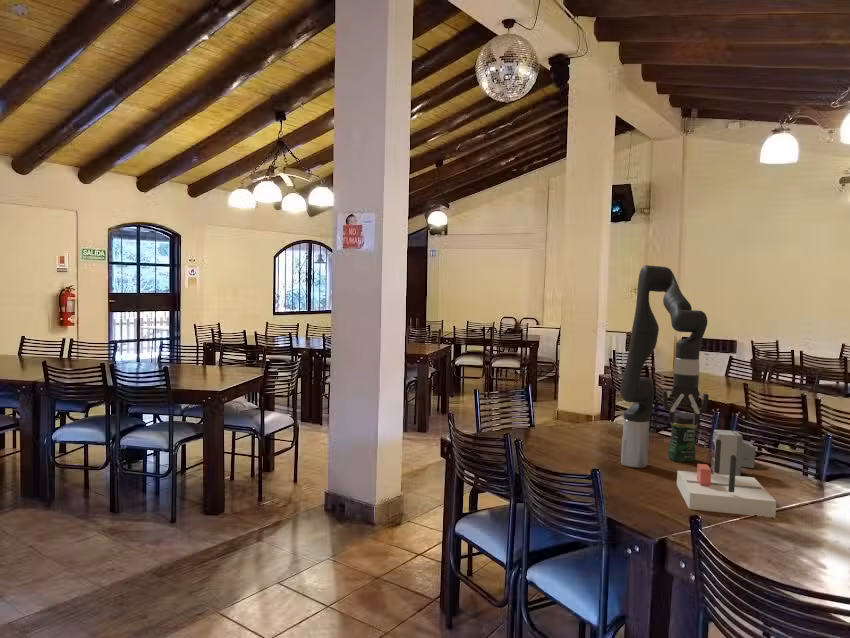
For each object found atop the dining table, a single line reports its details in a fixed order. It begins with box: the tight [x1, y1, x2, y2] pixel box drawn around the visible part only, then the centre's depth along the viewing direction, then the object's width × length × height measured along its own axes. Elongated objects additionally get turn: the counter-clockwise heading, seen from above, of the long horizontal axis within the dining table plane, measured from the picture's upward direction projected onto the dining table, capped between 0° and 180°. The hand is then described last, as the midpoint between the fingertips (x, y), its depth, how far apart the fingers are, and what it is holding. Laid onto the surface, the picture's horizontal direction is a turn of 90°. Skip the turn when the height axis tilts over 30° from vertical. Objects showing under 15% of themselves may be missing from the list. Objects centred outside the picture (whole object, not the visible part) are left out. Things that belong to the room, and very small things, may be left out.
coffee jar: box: [667, 412, 698, 463], centre depth 249 cm, size 10×8×19 cm
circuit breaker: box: [710, 429, 759, 476], centre depth 233 cm, size 8×14×15 cm, turn 78°
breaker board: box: [676, 470, 777, 519], centre depth 203 cm, size 24×24×5 cm
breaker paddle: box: [696, 463, 712, 485], centre depth 204 cm, size 3×6×5 cm, turn 167°
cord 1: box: [713, 439, 721, 474], centre depth 212 cm, size 2×2×11 cm
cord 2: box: [728, 455, 736, 492], centre depth 193 cm, size 2×2×11 cm
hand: (683, 423), depth 205 cm, fingers open, 6 cm apart
